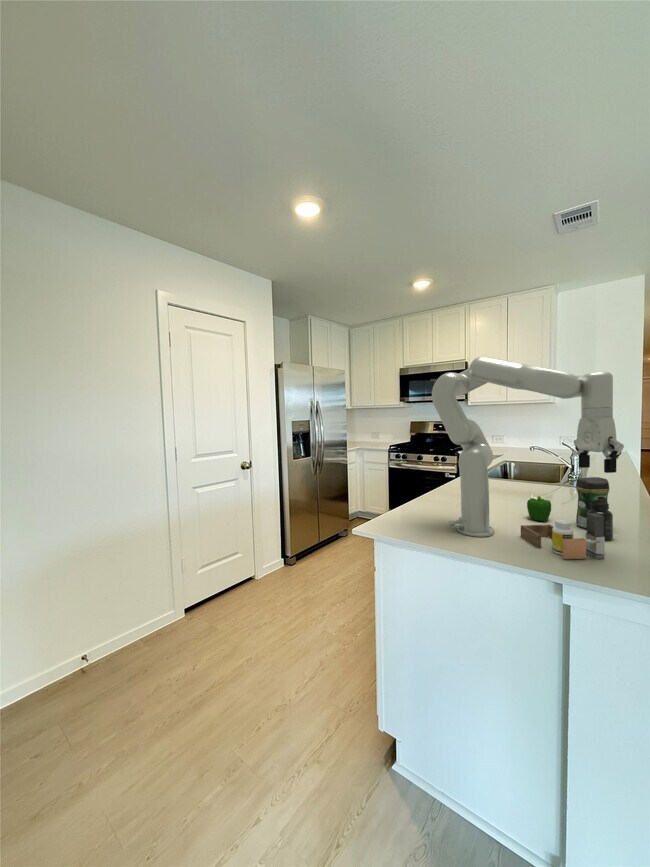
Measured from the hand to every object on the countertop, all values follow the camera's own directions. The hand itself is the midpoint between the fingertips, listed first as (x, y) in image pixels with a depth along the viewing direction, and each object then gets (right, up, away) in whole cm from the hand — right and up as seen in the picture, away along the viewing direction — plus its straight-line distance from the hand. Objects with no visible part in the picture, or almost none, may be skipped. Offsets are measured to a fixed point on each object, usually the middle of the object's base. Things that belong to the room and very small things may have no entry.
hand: (596, 469), depth 105 cm
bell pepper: (+3, -24, +33) cm, 41 cm away
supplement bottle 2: (+11, -25, +12) cm, 29 cm away
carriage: (-7, -25, -2) cm, 26 cm away
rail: (-2, -25, +4) cm, 26 cm away
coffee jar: (+16, -24, +22) cm, 36 cm away
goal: (-9, -25, +10) cm, 29 cm away
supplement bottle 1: (-9, -26, +1) cm, 28 cm away
